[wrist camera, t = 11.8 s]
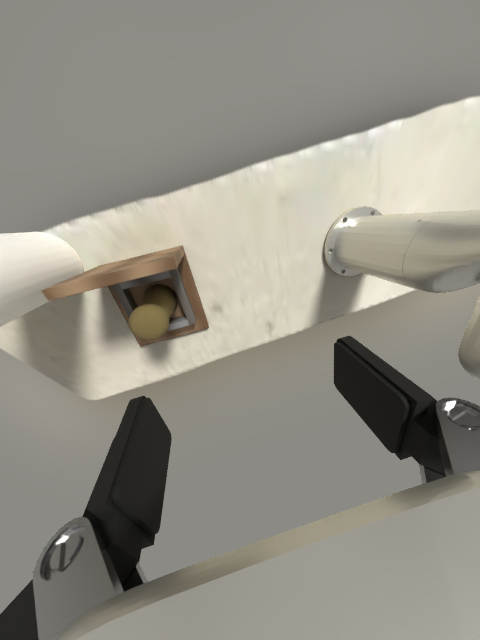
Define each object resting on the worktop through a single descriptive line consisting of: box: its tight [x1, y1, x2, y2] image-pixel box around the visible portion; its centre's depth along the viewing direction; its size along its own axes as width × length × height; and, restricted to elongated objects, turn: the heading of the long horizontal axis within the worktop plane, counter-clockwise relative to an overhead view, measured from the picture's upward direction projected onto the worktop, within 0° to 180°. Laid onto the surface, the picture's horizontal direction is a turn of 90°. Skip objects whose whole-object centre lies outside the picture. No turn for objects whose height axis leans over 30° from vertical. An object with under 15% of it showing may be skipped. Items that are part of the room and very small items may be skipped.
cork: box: [129, 284, 178, 340], centre depth 32 cm, size 6×6×11 cm
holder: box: [41, 246, 209, 346], centre depth 31 cm, size 14×16×14 cm
